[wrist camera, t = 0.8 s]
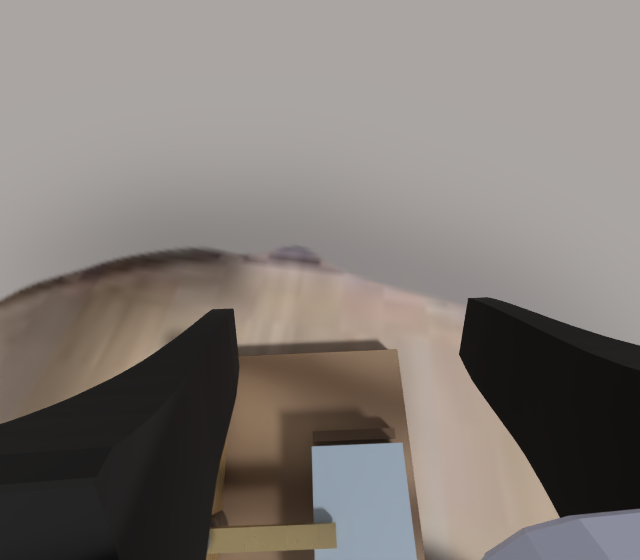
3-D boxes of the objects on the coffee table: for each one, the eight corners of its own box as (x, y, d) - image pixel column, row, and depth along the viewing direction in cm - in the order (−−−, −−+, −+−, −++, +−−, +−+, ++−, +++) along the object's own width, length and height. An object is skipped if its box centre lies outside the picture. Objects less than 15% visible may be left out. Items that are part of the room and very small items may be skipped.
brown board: (437, 697, 19) (451, 728, 17) (129, 710, 19) (102, 744, 17) (393, 354, 27) (399, 345, 25) (175, 364, 27) (161, 355, 25)
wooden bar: (337, 578, 20) (339, 607, 16) (188, 584, 20) (154, 615, 16) (328, 381, 25) (328, 366, 21) (206, 386, 25) (184, 373, 21)
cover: (412, 609, 19) (426, 633, 17) (318, 613, 19) (316, 638, 17) (393, 444, 23) (402, 442, 20) (313, 447, 23) (311, 446, 20)
